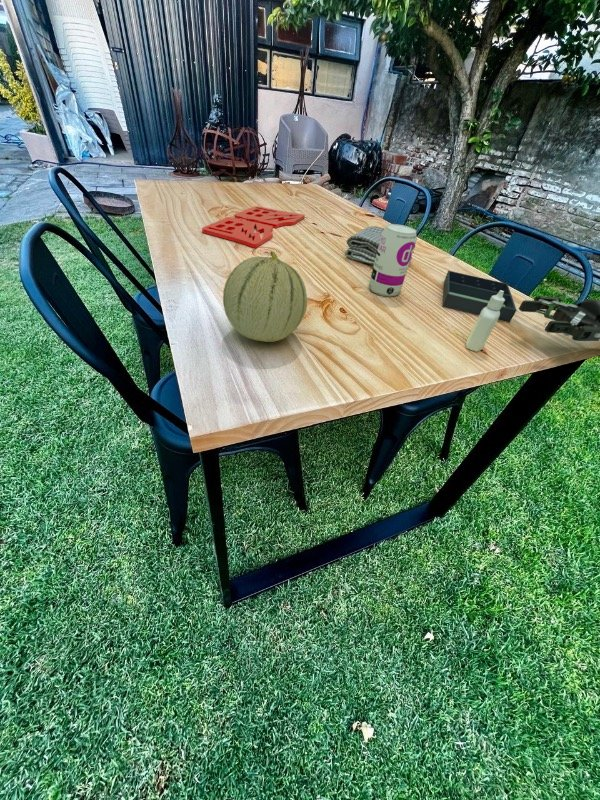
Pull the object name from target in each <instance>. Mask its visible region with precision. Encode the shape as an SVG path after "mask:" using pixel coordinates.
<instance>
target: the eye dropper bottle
mask: <svg viewBox="0 0 600 800" xmlns="http://www.w3.org/2000/svg"><path fill="white" fill-rule="evenodd" d="M503 293H504V291H502V290H500V291H499V293H498V294H497V295H493V296H492V297H491V299H490V301H489V303H488V305H487V307H485V308H483V309H482V311H481V313H480V315H478V317H477V319H476V320H475V323H474V325H473V327H472V329H471V331H470V333H469V335H468V337H467V339H466V341H465V348H466V349H468V350H470V351H472V352H476V353H477V352H480V351H482V350H483V348H484V347H485V345H486V342H487V341H488V339H489V337H490V335H491V333H492V332H493V330H494V328H495V326H496V324H497V322H498V321H499V320H498V318H499V316H500V311H499V310H500V309H501V307H502V305H503V303H504V301H505V299H504V298H503Z"/></svg>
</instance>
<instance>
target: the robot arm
mask: <svg viewBox="0 0 600 800" xmlns="http://www.w3.org/2000/svg"><path fill="white" fill-rule="evenodd" d="M562 301H563V298H561V297H557V296H545V295H536V296H535V298H534V299H533V300H529V299H528V300H527V299H526V300H523V301H522V302H521V304H520V306H519V307H518V310H519V311H520V312H522V313H524V312H525V313H537V314H541V315H543V317H544V318H545V319H549V320H550V321H549V322H548V323H547V324H546V326H545V328H544V332H546V333H548V334H562V335H563V336H566V337H569V336H571V339H572V340H573V341H575V342H599V341H600V299H594V298H591V299H585V300H582V301H580V302H579V303H577V304H573V303H565V302H562ZM552 311H555V312H553V314H551V312H552Z"/></svg>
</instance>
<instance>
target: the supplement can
mask: <svg viewBox="0 0 600 800" xmlns="http://www.w3.org/2000/svg"><path fill="white" fill-rule="evenodd" d="M417 235H418V234H417V230H416V229H415V228H413V227H411V226H407V225H403V224H397V223H390V224H387V225H386V226H385V227H384V230H383V232H382V234H381V238H380V242H379V246H378V250H377V254H376V258H375V262H374V265H372V266H373V267H372V270H371V275H370V278H369V283H368V287H369V288H370V291H371V292H373V293H374V294H376V295H378V296H381V297H387V298H390V297H391V298H392V297H396V296H397V295H399V294H401V291H402V288H403V285H404V282H405V278H406V276H407V272H408V268H409V266H410V263H411V261H412V260H411V256H412V257H413V254H414V253H413V251H414V250H415V248H416V244H417V240H418V236H417ZM414 247H415V248H414ZM412 253H413V254H412ZM410 260H411V261H410Z"/></svg>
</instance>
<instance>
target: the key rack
mask: <svg viewBox="0 0 600 800" xmlns="http://www.w3.org/2000/svg"><path fill="white" fill-rule="evenodd" d="M442 289H443V290H442V308H447V309H450V310H455V311H459V312H463V313H467V314H472V315H475V316H479V315H480V313H481V311H482V309H483V308H485V307H487V305H488V303H489V301H490V299H491V297H492V296H493V295H497V294H498V293H499V291H500V290H502V291H504V293H503V298H504V299H505V301H504V303H503V305H502V307H501V309H500V310H499V311H500V316H499V318H498V320H497V321H501V322H505V323H508V324H509V323H511V321H512V320H513V318H514V316H515V314H516V312H517V311H518V309H517V306H516V304H515V301H514V299H513V295H512V291H511V289H510V287H509V284H508V283H506V282H503V281H502V282H501V281H498V280H492V279H490V278H489V279H488V278H485V277H480V276H475V275H469V274H465V273H461V272H457V271H452V270H447V273H446V275H445V278H444V281H443V288H442Z"/></svg>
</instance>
